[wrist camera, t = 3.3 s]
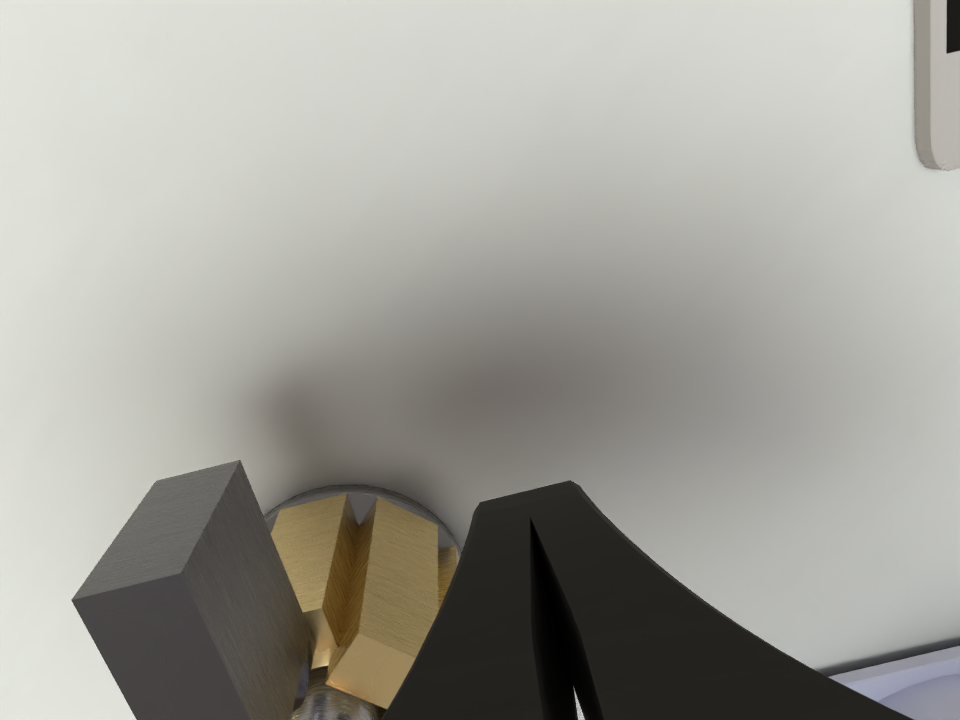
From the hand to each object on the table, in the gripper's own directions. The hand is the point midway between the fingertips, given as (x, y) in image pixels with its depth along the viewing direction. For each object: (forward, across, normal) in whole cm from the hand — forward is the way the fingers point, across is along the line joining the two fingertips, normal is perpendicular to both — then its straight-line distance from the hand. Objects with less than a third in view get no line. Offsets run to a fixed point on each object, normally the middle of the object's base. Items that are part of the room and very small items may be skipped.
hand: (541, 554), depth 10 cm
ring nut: (+5, +4, +2) cm, 7 cm away
